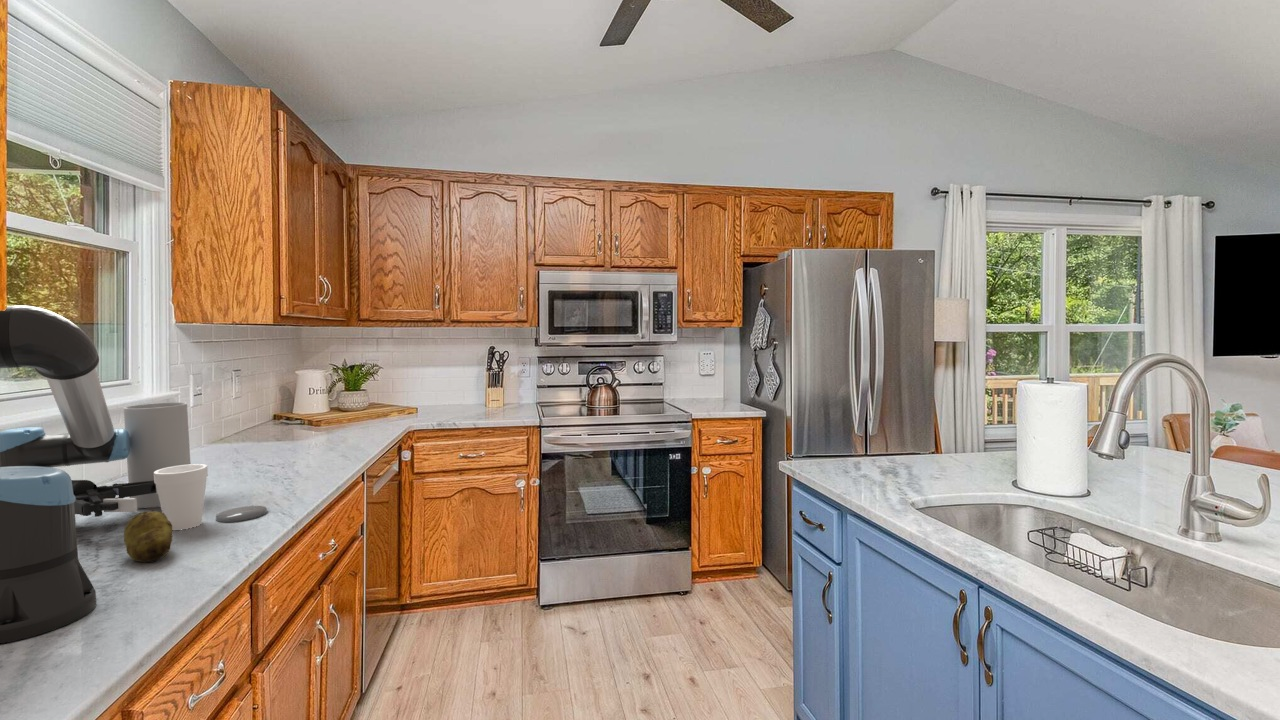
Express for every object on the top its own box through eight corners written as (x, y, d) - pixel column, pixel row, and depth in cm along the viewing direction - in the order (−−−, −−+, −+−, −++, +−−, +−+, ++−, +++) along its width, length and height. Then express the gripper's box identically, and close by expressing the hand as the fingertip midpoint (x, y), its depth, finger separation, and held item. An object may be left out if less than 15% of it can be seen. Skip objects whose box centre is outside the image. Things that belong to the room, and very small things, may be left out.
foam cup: (214, 525, 133) (211, 468, 132) (162, 536, 126) (158, 476, 126) (204, 516, 140) (201, 462, 139) (154, 526, 133) (150, 469, 132)
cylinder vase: (129, 502, 153) (122, 405, 151) (189, 492, 161) (184, 401, 160) (131, 512, 143) (124, 410, 142) (195, 502, 152) (189, 405, 150)
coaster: (238, 523, 134) (238, 520, 134) (205, 520, 137) (204, 517, 137) (276, 510, 143) (276, 507, 143) (244, 507, 146) (244, 504, 146)
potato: (112, 572, 108) (109, 528, 108) (131, 549, 119) (128, 510, 119) (169, 562, 112) (166, 521, 112) (182, 541, 123) (180, 503, 123)
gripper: (117, 497, 146) (203, 496, 146) (9, 532, 121) (112, 531, 121) (115, 467, 146) (201, 466, 145) (6, 496, 121) (110, 495, 121)
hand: (161, 495), depth 133 cm, fingers open, 13 cm apart
